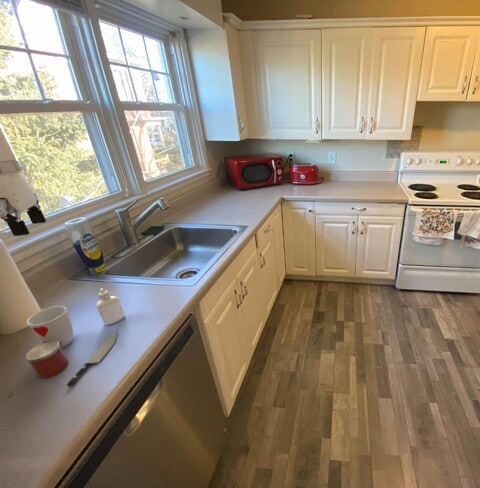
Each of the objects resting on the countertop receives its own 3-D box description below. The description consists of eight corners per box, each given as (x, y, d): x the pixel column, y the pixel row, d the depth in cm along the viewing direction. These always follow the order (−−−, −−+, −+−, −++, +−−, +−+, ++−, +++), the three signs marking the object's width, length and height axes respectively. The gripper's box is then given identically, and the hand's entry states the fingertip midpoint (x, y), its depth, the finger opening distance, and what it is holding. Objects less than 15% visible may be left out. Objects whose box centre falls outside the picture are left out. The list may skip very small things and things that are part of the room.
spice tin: (32, 381, 69) (20, 363, 67) (44, 363, 75) (33, 344, 72) (63, 373, 72) (52, 355, 69) (73, 356, 77) (63, 338, 74)
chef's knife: (125, 331, 85) (115, 331, 85) (124, 329, 85) (114, 329, 84) (79, 387, 68) (66, 387, 68) (77, 384, 67) (64, 384, 67)
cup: (36, 348, 79) (19, 321, 75) (68, 329, 86) (54, 303, 82) (55, 356, 77) (38, 328, 72) (86, 335, 84) (73, 309, 79)
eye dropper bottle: (123, 322, 89) (110, 290, 84) (102, 326, 87) (87, 295, 82) (126, 313, 93) (114, 283, 87) (106, 318, 91) (92, 287, 85)
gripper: (1, 163, 79) (30, 220, 86) (-44, 176, 64) (-5, 242, 72) (35, 162, 81) (60, 217, 89) (-1, 173, 67) (32, 238, 74)
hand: (31, 228), depth 80 cm, fingers open, 9 cm apart
